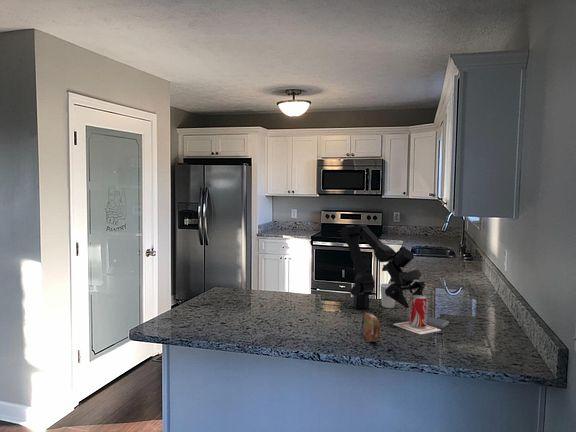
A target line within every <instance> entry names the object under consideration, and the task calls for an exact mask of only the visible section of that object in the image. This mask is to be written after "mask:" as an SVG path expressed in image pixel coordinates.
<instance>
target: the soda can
mask: <svg viewBox="0 0 576 432" xmlns="http://www.w3.org/2000/svg"><path fill="white" fill-rule="evenodd" d="M408 309H409V310H408V321H409V324H410V325H411V326H412V327H415V328H424V327H425V326H426V324H427V317H428V312H429V311H428V310H429V301H428V297H427V296H426V295H423V296H422V295H412V294H411V298H410V300H409V308H408Z"/></svg>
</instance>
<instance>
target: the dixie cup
mask: <svg viewBox="0 0 576 432" xmlns="http://www.w3.org/2000/svg"><path fill="white" fill-rule="evenodd" d="M391 284H392V283H380V285H379V286H380V295H381V296H380V297H381V299H380V300H381V307H382V306H383V308H386V309H393V308H395V303H396V301H395V300H394V299H392V298H390V297H387V296H386V294H385V289H387V288H388V287H389V286H390V285H391Z"/></svg>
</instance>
